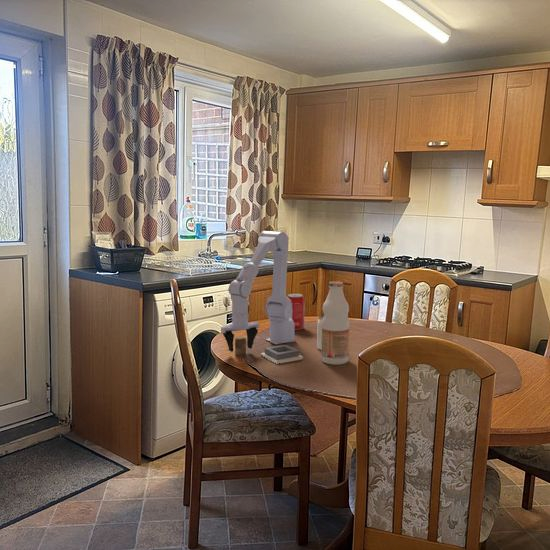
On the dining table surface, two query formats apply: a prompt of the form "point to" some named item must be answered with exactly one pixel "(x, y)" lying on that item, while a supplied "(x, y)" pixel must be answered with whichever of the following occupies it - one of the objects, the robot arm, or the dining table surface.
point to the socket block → (281, 354)
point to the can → (319, 333)
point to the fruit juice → (335, 326)
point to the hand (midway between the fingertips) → (240, 349)
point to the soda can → (297, 310)
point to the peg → (240, 346)
